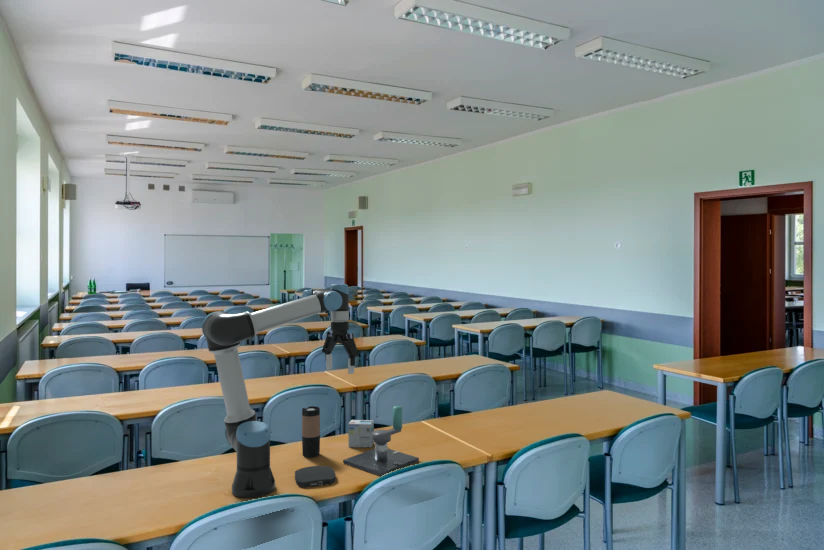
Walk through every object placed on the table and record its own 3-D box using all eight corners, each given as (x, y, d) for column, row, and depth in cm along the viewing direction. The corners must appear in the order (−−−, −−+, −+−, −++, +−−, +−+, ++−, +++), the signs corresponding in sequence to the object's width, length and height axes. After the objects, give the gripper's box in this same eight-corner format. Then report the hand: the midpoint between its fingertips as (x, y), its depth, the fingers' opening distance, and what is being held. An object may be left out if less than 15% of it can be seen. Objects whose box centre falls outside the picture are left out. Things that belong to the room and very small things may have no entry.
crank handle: (407, 435, 236) (407, 407, 236) (381, 444, 224) (381, 415, 224) (394, 431, 242) (393, 404, 241) (367, 440, 230) (367, 411, 229)
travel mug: (318, 458, 235) (318, 410, 235) (300, 458, 235) (300, 410, 235) (321, 452, 243) (321, 406, 242) (304, 451, 243) (303, 406, 243)
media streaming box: (331, 470, 222) (331, 463, 222) (337, 484, 208) (337, 476, 208) (293, 475, 217) (293, 467, 217) (297, 489, 204) (297, 481, 203)
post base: (382, 476, 215) (381, 453, 214) (343, 463, 229) (343, 441, 229) (418, 461, 231) (418, 439, 231) (380, 449, 246) (380, 429, 245)
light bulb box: (374, 443, 255) (374, 419, 255) (371, 448, 248) (371, 424, 248) (351, 442, 256) (351, 419, 256) (348, 447, 249) (347, 423, 249)
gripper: (367, 322, 228) (367, 374, 228) (327, 318, 244) (327, 366, 245) (353, 323, 222) (354, 376, 223) (313, 319, 239) (313, 369, 239)
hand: (340, 371), depth 234 cm, fingers open, 13 cm apart
